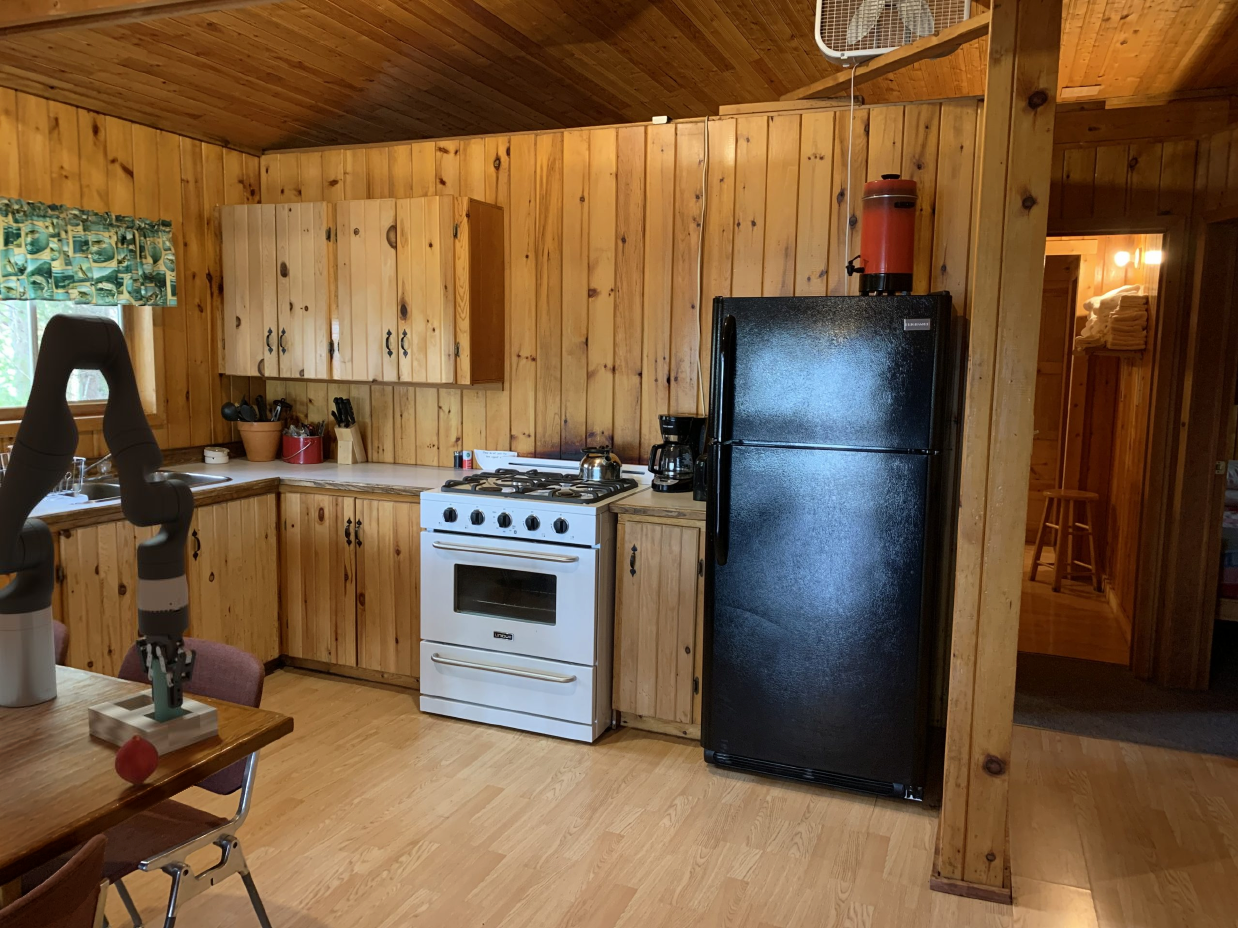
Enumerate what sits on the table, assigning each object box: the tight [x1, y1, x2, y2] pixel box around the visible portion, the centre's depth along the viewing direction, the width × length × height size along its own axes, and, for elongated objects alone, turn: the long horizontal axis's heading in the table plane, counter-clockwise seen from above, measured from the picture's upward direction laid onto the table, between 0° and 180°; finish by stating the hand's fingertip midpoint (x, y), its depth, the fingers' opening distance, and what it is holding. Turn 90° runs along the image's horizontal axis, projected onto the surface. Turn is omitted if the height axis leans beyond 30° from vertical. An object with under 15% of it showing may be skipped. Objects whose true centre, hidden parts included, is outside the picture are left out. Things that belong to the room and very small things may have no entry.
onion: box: [114, 734, 160, 787], centre depth 140 cm, size 6×6×8 cm
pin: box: [152, 659, 182, 723], centre depth 156 cm, size 4×4×12 cm
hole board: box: [87, 687, 219, 757], centre depth 159 cm, size 18×12×4 cm, turn 57°
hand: (167, 703), depth 156 cm, fingers closed on pin, 4 cm apart
